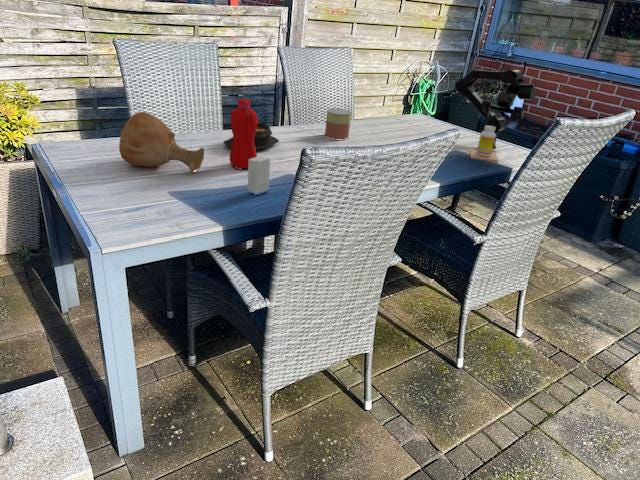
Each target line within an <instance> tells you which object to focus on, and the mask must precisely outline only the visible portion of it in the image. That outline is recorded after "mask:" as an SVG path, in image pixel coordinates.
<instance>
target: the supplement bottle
mask: <svg viewBox="0 0 640 480" xmlns="http://www.w3.org/2000/svg"><path fill="white" fill-rule="evenodd" d="M483 129H485V130H484V131H483V130H482V131H481V132H480V136H479V140H478V143H477V148H476V150H477V154H478V155H481V156H491V154H492V152H493V149H494V148H493V146H494V142H495V138H496V134H495V133H494V131H495V129H496V127H494V126H489V125H487V124H486V125H484V128H483Z"/></svg>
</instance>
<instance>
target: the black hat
mask: <svg viewBox="0 0 640 480" xmlns="http://www.w3.org/2000/svg"><path fill="white" fill-rule="evenodd" d="M231 133H232V134H233V131H232V130H231ZM279 142H280V140H279V138H277V137H275V136H273V131H272V130H271V127H270V126H269V125H267V124H265V123H262V122H258V125H257V129H256V132H255V136H254V144H255V149H257V150H262V148H263V149H266V148H270V147H271V146H274V144H278V143H279ZM232 143H233V136H232V137H230V138H229V139H226V140H224V141H223V144H224V145H225V146H226V147H228V148H231V147H232Z"/></svg>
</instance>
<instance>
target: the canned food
mask: <svg viewBox="0 0 640 480" xmlns="http://www.w3.org/2000/svg"><path fill="white" fill-rule="evenodd" d="M351 116H352V112H351V111H350V110H349V109H343V108H337V107H336V108H334V107H332V108H327V109H326V119H325V120H326V121H325V129H324V130H325V132H324V137H325V136H326V137H329V138H334V139H345V138H348V139H349V134H350V125H351ZM326 137H325V138H326Z"/></svg>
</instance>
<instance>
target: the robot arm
mask: <svg viewBox="0 0 640 480" xmlns="http://www.w3.org/2000/svg"><path fill="white" fill-rule="evenodd" d="M522 75H523V74H522V72H521V71H520V70H519V69H513V70H511V69H510V70H503V71H499V70H498V71H497V70H485V69H480V68H479V69H472V70H471V71H470V72H469V73H468V74H466V75H465V76H463V77H462V78H461V79H459V80H457V81H456V82H455V84H454V90H455V91H456V92H457V93H458V94H459V95H460V96H463V97H464V98H466V99H467V100H468V101H469V102H470V103H471V104H472V105H473V107H474V108H475V109H476V110H477V111H478V113H479V114H480V115H481V116H482V117H483V119H484V123H485V124H486V125H489V126H494V127H496V129H495V131H494V133H495V134H496V138H495V142H494V146H493V149H496V148H497V146H496V142H497V138H498V134H501V132H502V131H503V130H505V129H506V128H507V127H509V125H511V124H512V123H514V122H516V121H517V122H518V121H520V120H523V118H524V115H525V109H524V108H523V107H520V106H516V105H515V106H514V107H513V108H511V107H512V106H513V105H514V101H516V98H518V99H519V100H524V101H525V100H526V101H533V100H534V99H535V98H536V94H537V91H536V87H535V86H536V85H535V84H533V83H531V84H526V82H525V80H524V78H523V76H522ZM478 79H482V80H483V79H484V80H495V81H500V82H502V83H504V84H503V85H502V88H503V89H502V90H504V92H500V91H499V92H498V93H497V97H496V100H497V101H496V104H493V101H491V100H486V99H484V100H483V99H482V98H481V97H480V96H479V95H478V93H477V92H476V90H475V86H474V84H475V83H476V82H477V80H478ZM505 83H506V84H505ZM493 110H494V111H499V113H495V112H494V111H493ZM501 113H506V114H509V117H508V118H507V120H506V118H505V117H503V115H502V114H501ZM484 130H485V129H484V128H483V129H482V131H484Z"/></svg>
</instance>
